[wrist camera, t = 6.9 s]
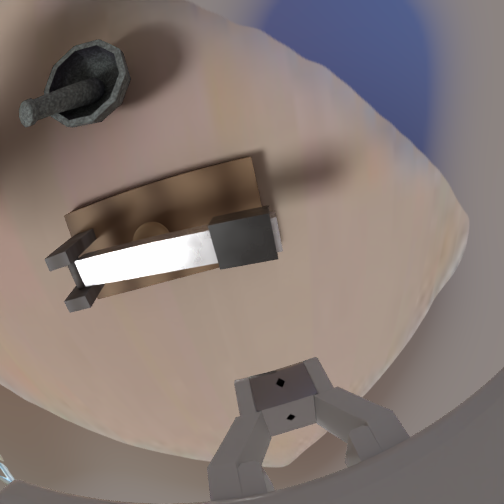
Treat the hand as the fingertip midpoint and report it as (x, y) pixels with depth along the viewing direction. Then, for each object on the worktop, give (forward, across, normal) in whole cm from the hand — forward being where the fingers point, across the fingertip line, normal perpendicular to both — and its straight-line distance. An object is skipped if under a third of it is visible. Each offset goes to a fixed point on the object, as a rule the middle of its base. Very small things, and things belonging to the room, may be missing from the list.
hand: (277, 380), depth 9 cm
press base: (+27, +8, 0) cm, 28 cm away
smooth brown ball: (+25, +9, 0) cm, 26 cm away
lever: (+19, +6, 0) cm, 20 cm away
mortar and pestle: (+27, +12, -19) cm, 35 cm away
